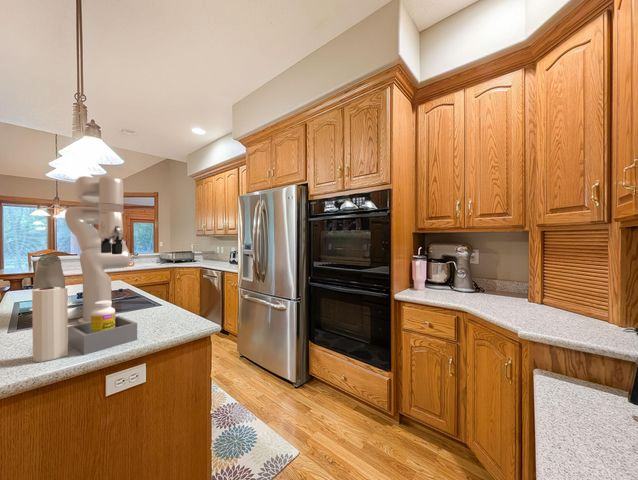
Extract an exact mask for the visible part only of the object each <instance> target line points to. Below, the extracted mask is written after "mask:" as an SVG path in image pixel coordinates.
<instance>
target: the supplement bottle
mask: <svg viewBox="0 0 638 480" xmlns="http://www.w3.org/2000/svg"><path fill="white" fill-rule="evenodd" d="M112 303H113V301H112V299H111V300H104V301H98V302H95V307H96V308H95V310H93V311H92V312H91V333H95V332H99V331H103V330H107V329H111V328H115V315H116V309H115V308H114V307H112Z"/></svg>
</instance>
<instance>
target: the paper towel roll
mask: <svg viewBox="0 0 638 480" xmlns="http://www.w3.org/2000/svg"><path fill="white" fill-rule="evenodd" d="M31 292H32V293H31V295H32V297H31V298H32V299H31V301H32V309H31V310H32V361H33V362H36V363H40V362H46V361H47V362H48V361H52V360H57V359H59V358H62V357H66V356H68V354H69V353H68V352H69V351H68V350H69V349H68V347H69V345H68V327H69V325H68V323H69V322H68V321H69V320H68V318H69V316H68V315H69V314H68V313H69V312H68V288H67V287H65V288H64V289H61V287H46V288H39V289H34V290H33V289H32V291H31Z"/></svg>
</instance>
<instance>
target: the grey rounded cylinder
mask: <svg viewBox="0 0 638 480" xmlns="http://www.w3.org/2000/svg"><path fill="white" fill-rule="evenodd" d="M64 274H65V273H64V271H63V268H62V260H61V258H60V257H59V256H58V255H55V254H46V255H45V254H44V255H42V256H40V257H39V259H38V260H37V266H36V271H35V274H34V278H33V282H32V283H33V284H32V290H34V289H39V288H46V287H61V289H64V288H66V278H65V275H64Z"/></svg>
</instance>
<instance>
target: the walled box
mask: <svg viewBox="0 0 638 480" xmlns="http://www.w3.org/2000/svg"><path fill="white" fill-rule="evenodd" d="M137 340H138V322H136V321H134V320H131V319H127V318H125V317H123V316H120V315H117V316H116V317H115V328H111V329H107V330H103V331H99V332H95V333H91V322H87V323H83V324H79V323H78V324H75V325H71V326H69V325H68V346H69V347H71V348H73V349H74V350H75V351H77V352H79V353H81V354H82V355H83V356H86V355H88V354H93V353H96V352H99V351H103V350H107V349H110V348H114V347H117V346H121V345H123V344H126V343H130V342H134V341H137Z"/></svg>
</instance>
